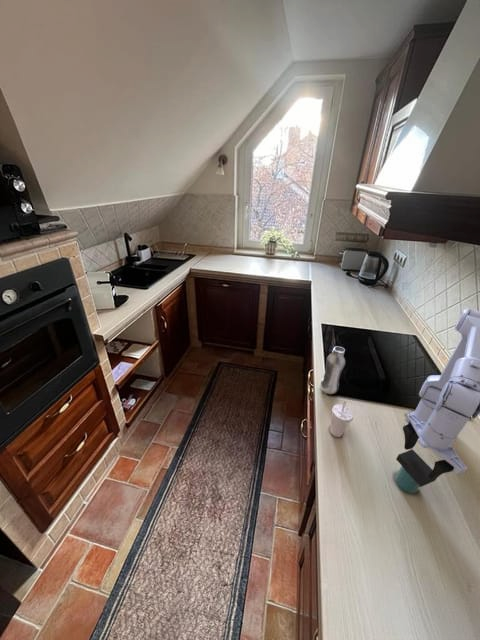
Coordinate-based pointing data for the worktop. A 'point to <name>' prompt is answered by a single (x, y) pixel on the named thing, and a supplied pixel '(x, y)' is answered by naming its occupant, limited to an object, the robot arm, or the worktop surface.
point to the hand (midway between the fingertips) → (419, 461)
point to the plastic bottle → (333, 371)
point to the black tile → (415, 467)
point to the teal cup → (406, 481)
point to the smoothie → (340, 419)
